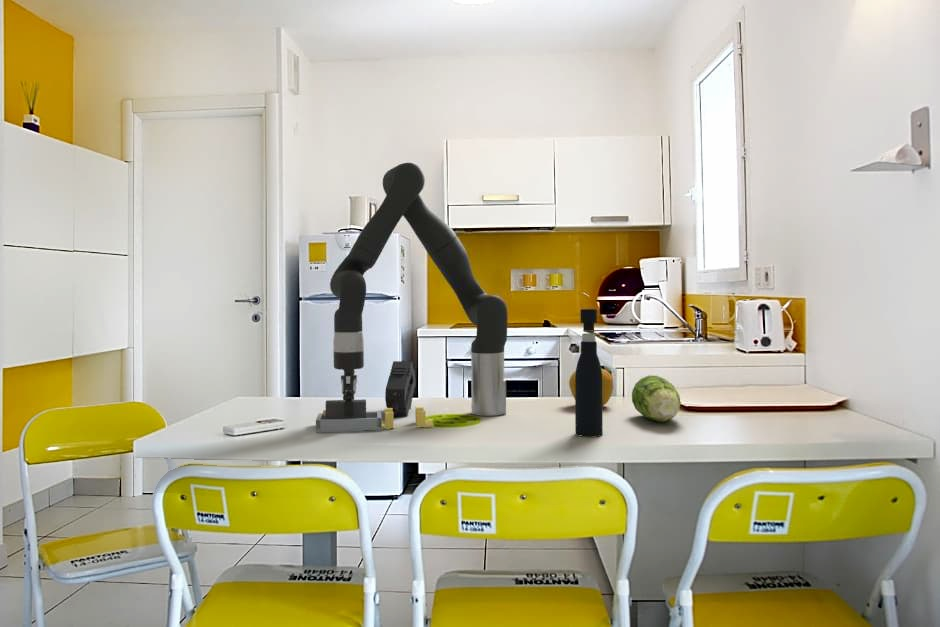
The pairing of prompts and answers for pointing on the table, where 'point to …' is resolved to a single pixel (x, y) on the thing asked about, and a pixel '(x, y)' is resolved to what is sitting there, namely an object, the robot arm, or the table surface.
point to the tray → (349, 423)
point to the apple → (606, 386)
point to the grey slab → (337, 409)
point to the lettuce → (656, 398)
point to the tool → (400, 387)
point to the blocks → (418, 413)
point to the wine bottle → (588, 381)
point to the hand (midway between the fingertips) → (349, 413)
